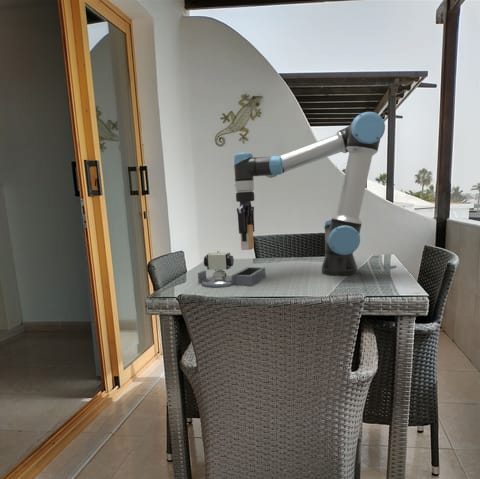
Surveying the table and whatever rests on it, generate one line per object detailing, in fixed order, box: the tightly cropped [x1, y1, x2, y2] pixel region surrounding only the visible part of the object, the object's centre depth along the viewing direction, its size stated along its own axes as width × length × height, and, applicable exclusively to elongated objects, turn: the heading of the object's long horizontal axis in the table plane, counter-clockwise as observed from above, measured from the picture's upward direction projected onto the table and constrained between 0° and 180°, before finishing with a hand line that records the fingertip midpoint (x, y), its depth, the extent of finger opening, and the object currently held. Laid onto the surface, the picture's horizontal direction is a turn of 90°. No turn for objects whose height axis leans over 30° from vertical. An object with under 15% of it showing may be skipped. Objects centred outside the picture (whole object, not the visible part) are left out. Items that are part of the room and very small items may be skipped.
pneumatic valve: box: [203, 250, 235, 280], centre depth 148 cm, size 6×12×12 cm, turn 76°
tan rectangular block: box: [240, 225, 255, 251], centre depth 148 cm, size 4×4×10 cm
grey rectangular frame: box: [231, 266, 267, 287], centre depth 149 cm, size 9×17×4 cm, turn 157°
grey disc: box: [197, 270, 241, 289], centre depth 148 cm, size 18×15×4 cm
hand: (247, 248), depth 148 cm, fingers closed on tan rectangular block, 4 cm apart
